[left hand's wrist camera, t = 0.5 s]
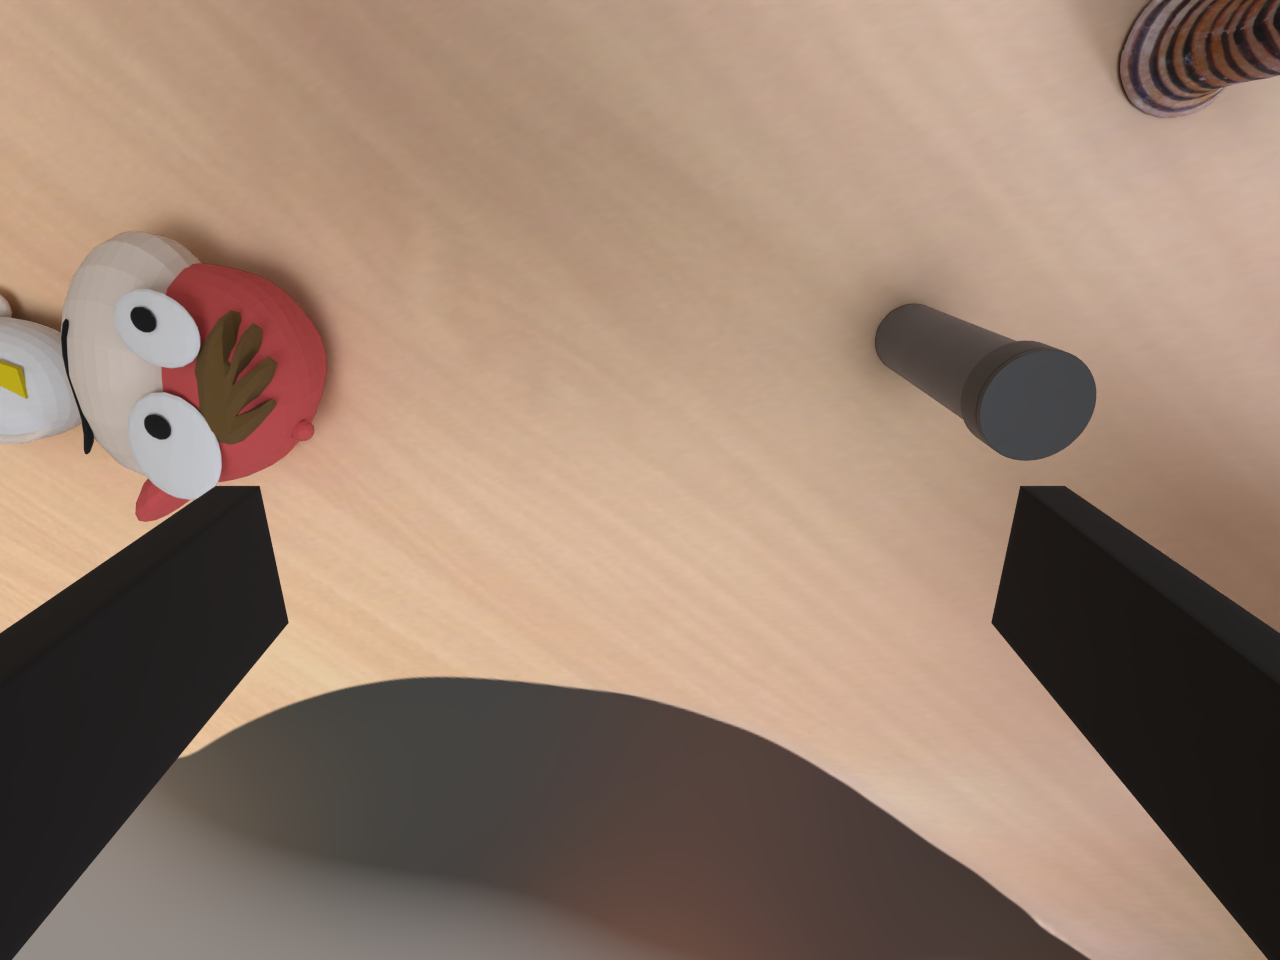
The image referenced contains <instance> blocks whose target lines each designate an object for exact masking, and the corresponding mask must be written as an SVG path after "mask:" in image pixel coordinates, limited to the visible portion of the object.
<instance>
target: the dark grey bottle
mask: <svg viewBox="0 0 1280 960" xmlns="http://www.w3.org/2000/svg"><path fill="white" fill-rule="evenodd" d="M1012 342H1017V341H1015V340H1012V339H1009V338H1007V337H1004V336H1002V335H999V334H997V333H994V332H992V331H989V330H986V329H984V328H981V327H979V326H976V325H974V324H971V323H968V322H966V321H963V320H961V319H958V318H956V317H953V316H951V315H948V314H945V313H943V312H940V311H938V310H935V309H933V308H930V307H927V306H925V305H921V304H908V305H904V306H901V307H899V308H897V309H895V310H893V311H892V312H891V313H890V314H888V315H887V316H886V317H885V319H884V320H883V321H882V323H881V324H880V326H879V328H878V331H877V334H876V342H875V344H876V351H877V354H878V356H879V358H880V360H881V361H882V362H883V363H884V364H885V365H886V366H887V367H889V368H890V369H892V370H893V371H895V372H896V373H897V374H899V375H900V376H902V377H903V378H905V379H906V380H907V381H909V382H910V383H912V384H913V385H915V386H916V387H917V388H919V389H920V390H922V391H923V392H925V393H926V394H928V395H929V396H930V397H932V398H933V399H935V400H936V401H938V402H939V403H940V404H942V405H943V406H945V407H946V408H948V409H949V410H951V411H952V412H953V413H955V414H956V415H958V416H959V417H961V418H962V419H963V417H962V413H961V404H960V402H961V394H962V389H963V386H964V383H965V381H966V379H967V377H968V375H969V374H970V372H971V370H972V369H973V368H974V367H975V365H976V364H977V363H978V362H979V361H980V360H981V359H982V358H983V357H984V356H986V355H987V354H988V353H990V352H991V351H993V350H995V349H996V348H999V347H1001V346H1003V345H1006V344H1009V343H1012Z"/></svg>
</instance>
